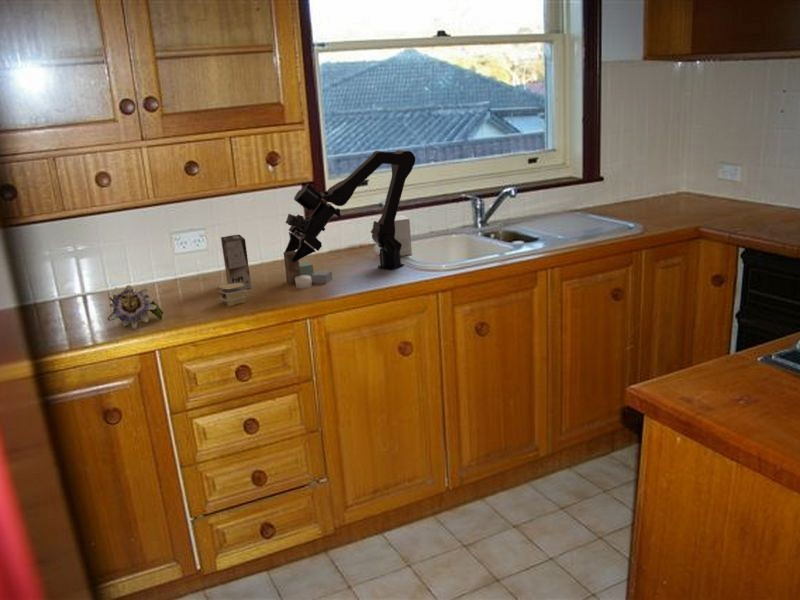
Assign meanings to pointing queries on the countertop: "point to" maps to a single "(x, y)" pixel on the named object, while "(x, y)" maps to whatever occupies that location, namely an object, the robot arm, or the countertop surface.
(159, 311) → the passion flower
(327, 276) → the grey block
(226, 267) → the coffee box
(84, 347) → the countertop surface
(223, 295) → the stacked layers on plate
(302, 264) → the green block
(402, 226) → the small box
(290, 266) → the walnut block
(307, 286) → the white tub
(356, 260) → the countertop surface
